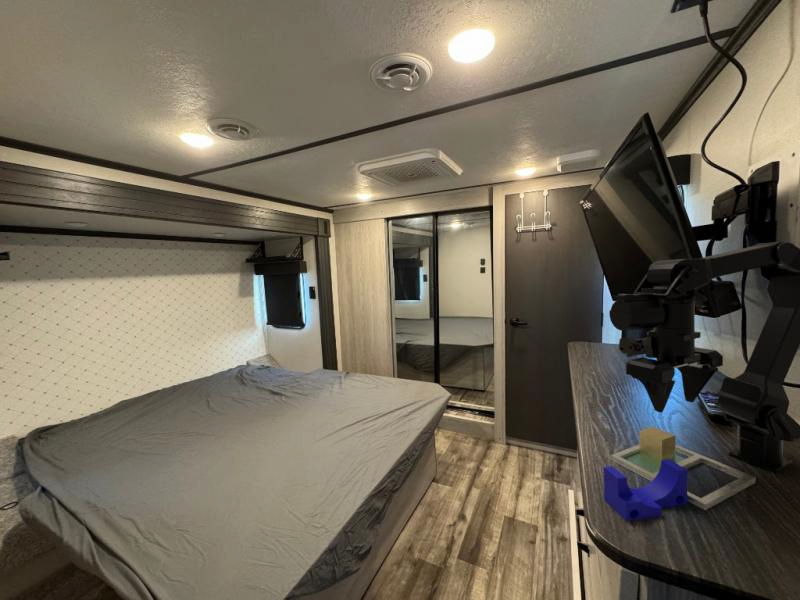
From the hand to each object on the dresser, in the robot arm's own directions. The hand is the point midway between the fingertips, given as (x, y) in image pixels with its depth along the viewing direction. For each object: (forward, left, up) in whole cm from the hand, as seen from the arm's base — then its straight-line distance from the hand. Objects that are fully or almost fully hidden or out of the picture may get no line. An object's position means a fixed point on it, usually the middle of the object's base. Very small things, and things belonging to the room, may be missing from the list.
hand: (674, 406), depth 59 cm
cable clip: (+15, +4, -12) cm, 20 cm away
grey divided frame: (+1, +1, -12) cm, 12 cm away
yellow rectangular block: (+1, -2, -12) cm, 12 cm away
